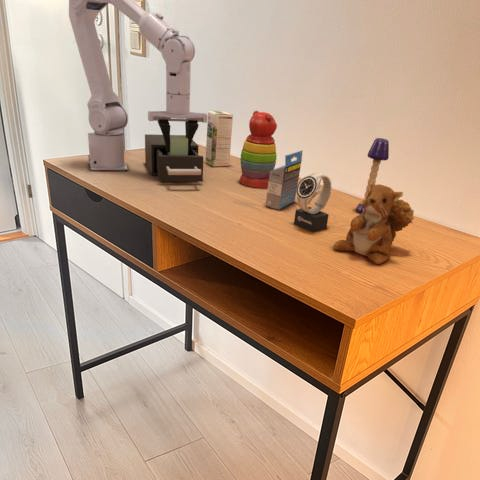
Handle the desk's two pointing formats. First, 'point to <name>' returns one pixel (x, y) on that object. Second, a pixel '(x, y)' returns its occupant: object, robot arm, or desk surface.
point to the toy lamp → (375, 163)
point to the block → (178, 145)
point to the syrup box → (218, 138)
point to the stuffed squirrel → (377, 224)
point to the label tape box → (284, 182)
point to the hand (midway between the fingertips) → (177, 151)
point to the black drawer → (178, 166)
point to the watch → (306, 192)
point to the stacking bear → (259, 151)
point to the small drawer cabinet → (157, 142)
